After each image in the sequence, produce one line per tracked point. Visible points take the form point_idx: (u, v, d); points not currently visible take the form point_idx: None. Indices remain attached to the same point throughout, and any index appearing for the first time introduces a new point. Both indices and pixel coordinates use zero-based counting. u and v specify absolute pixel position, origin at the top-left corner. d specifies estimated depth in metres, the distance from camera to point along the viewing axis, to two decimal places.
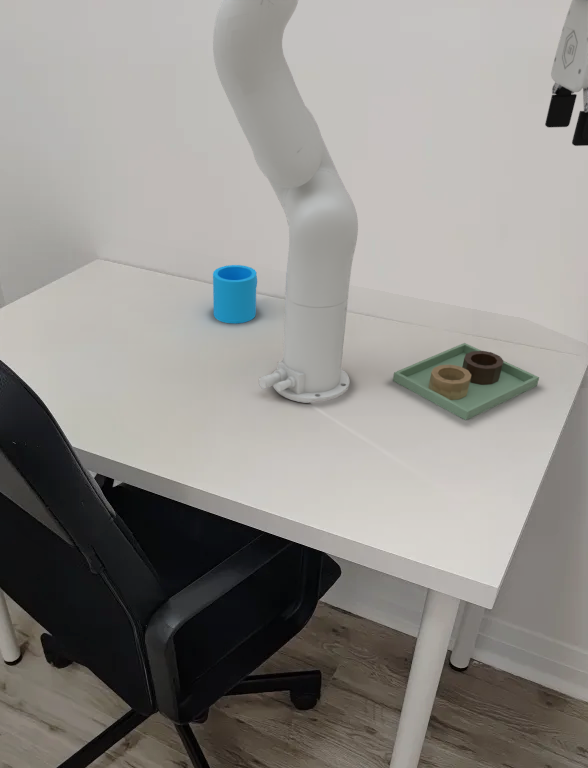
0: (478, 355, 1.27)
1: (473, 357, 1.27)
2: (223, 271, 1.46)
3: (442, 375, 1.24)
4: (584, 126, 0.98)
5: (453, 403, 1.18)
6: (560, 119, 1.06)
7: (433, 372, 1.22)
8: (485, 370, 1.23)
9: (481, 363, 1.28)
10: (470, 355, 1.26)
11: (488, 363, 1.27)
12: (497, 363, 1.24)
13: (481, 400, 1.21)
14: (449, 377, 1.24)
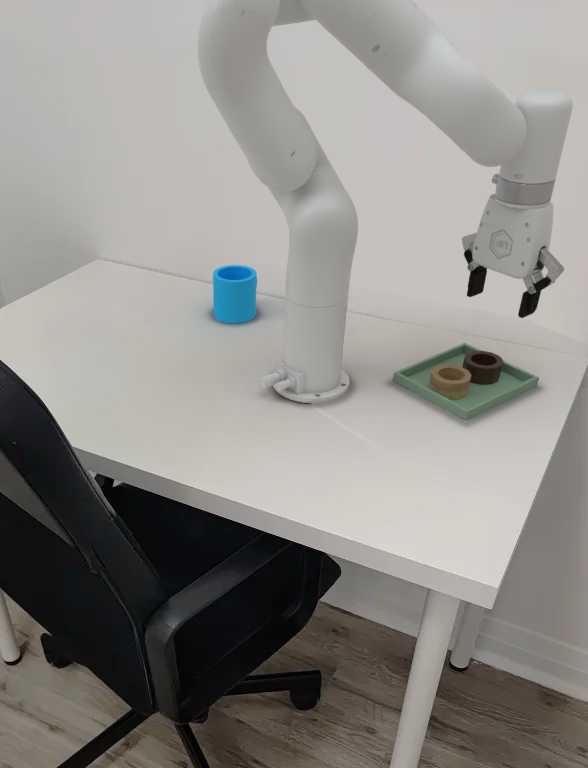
0: (478, 355, 1.27)
1: (473, 357, 1.27)
2: (223, 271, 1.46)
3: (442, 375, 1.24)
4: (529, 303, 1.14)
5: (453, 403, 1.18)
6: (478, 289, 1.22)
7: (433, 372, 1.22)
8: (485, 370, 1.23)
9: (481, 363, 1.28)
10: (470, 355, 1.26)
11: (488, 363, 1.27)
12: (497, 363, 1.24)
13: (481, 400, 1.21)
14: (449, 377, 1.24)
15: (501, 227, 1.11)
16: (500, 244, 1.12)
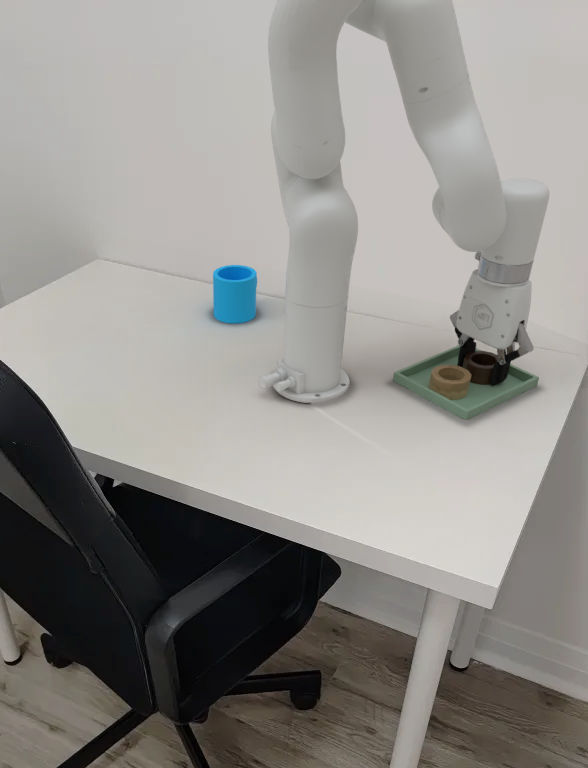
0: (478, 355, 1.27)
1: (473, 357, 1.27)
2: (223, 271, 1.46)
3: (442, 375, 1.24)
4: (499, 372, 1.23)
5: (453, 403, 1.18)
6: None
7: (433, 372, 1.22)
8: (485, 370, 1.23)
9: (481, 363, 1.28)
10: (470, 355, 1.26)
11: (488, 363, 1.27)
12: None
13: (481, 400, 1.21)
14: (449, 377, 1.24)
15: (483, 301, 1.18)
16: (482, 316, 1.19)
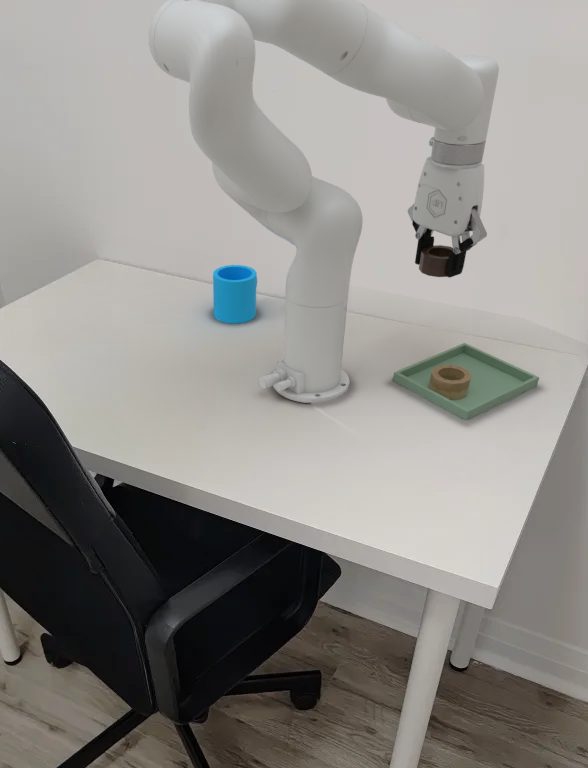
0: (436, 249, 1.27)
1: (430, 251, 1.27)
2: (223, 271, 1.46)
3: (442, 375, 1.24)
4: (455, 263, 1.22)
5: (453, 403, 1.18)
6: None
7: (433, 372, 1.22)
8: (441, 261, 1.23)
9: None
10: (428, 249, 1.26)
11: None
12: None
13: (481, 400, 1.21)
14: (449, 377, 1.24)
15: (436, 187, 1.18)
16: (436, 204, 1.19)
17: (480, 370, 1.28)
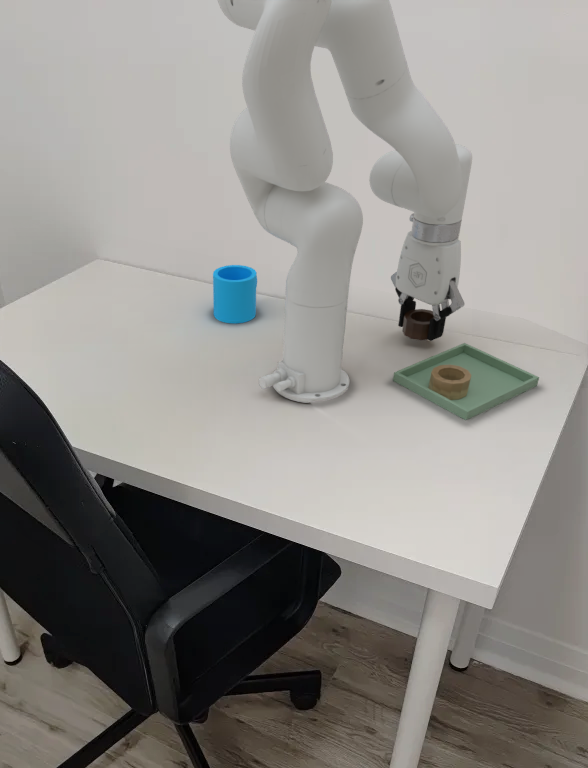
0: (418, 313, 1.36)
1: (413, 315, 1.35)
2: (223, 271, 1.46)
3: (442, 375, 1.24)
4: (435, 328, 1.31)
5: (453, 403, 1.18)
6: None
7: (433, 372, 1.22)
8: (422, 326, 1.32)
9: (421, 321, 1.36)
10: (410, 313, 1.35)
11: (427, 320, 1.36)
12: None
13: (481, 400, 1.21)
14: (449, 377, 1.24)
15: (417, 260, 1.26)
16: (417, 275, 1.27)
17: (480, 370, 1.28)
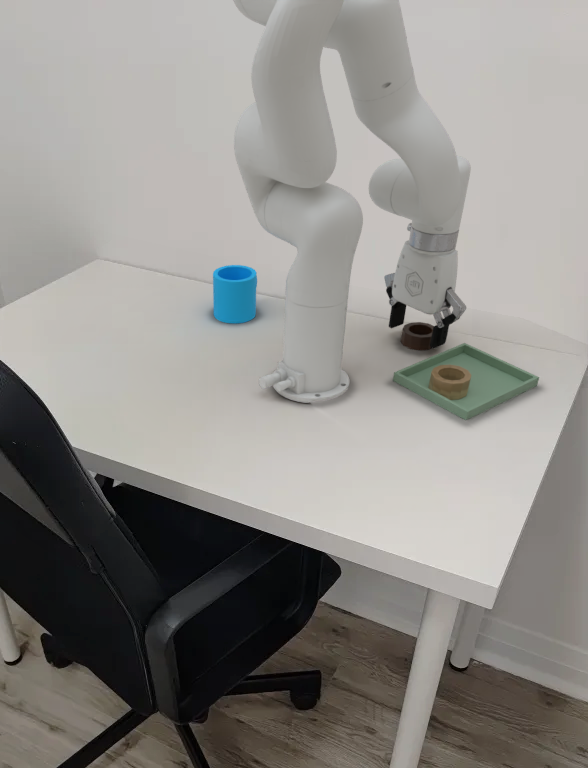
0: (416, 326, 1.37)
1: (411, 327, 1.37)
2: (223, 271, 1.46)
3: (442, 375, 1.24)
4: (438, 335, 1.30)
5: (453, 403, 1.18)
6: (398, 321, 1.38)
7: (433, 372, 1.22)
8: (420, 339, 1.33)
9: (419, 333, 1.38)
10: (408, 326, 1.37)
11: (425, 333, 1.37)
12: None
13: (481, 400, 1.21)
14: (449, 377, 1.24)
15: (414, 269, 1.27)
16: (413, 284, 1.28)
17: (480, 370, 1.28)
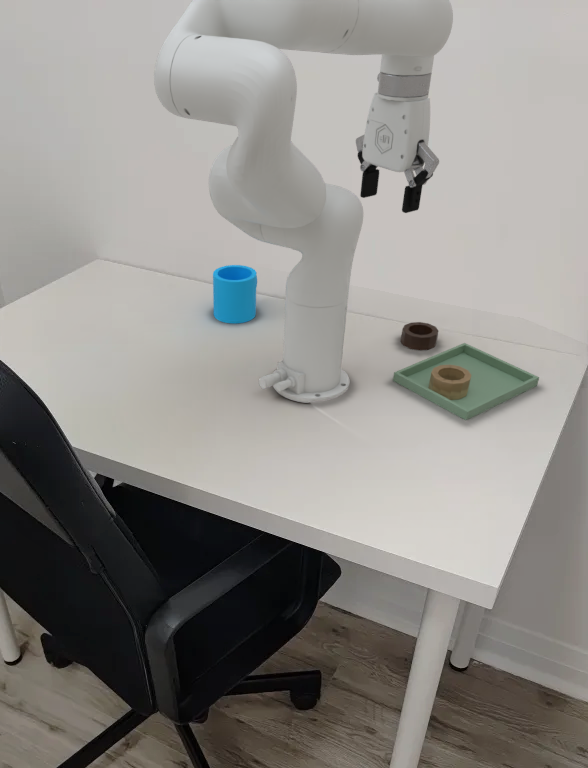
0: (416, 326, 1.37)
1: (411, 327, 1.37)
2: (223, 271, 1.46)
3: (442, 375, 1.24)
4: (411, 197, 1.21)
5: (453, 403, 1.18)
6: (371, 190, 1.28)
7: (433, 372, 1.22)
8: (420, 339, 1.33)
9: (419, 333, 1.38)
10: (408, 326, 1.37)
11: (425, 333, 1.37)
12: (432, 333, 1.34)
13: (481, 400, 1.21)
14: (449, 377, 1.24)
15: (383, 122, 1.17)
16: (383, 139, 1.19)
17: (480, 370, 1.28)
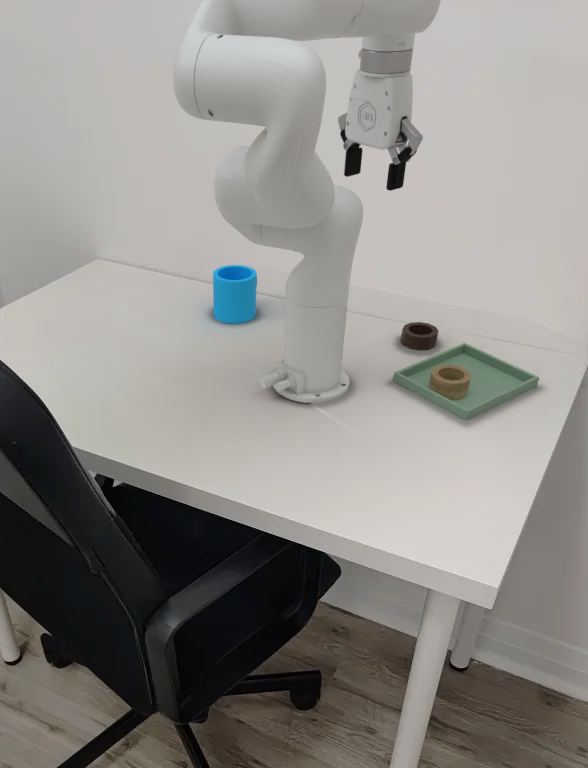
0: (416, 326, 1.37)
1: (411, 327, 1.37)
2: (223, 271, 1.46)
3: (442, 375, 1.24)
4: (395, 175, 1.21)
5: (453, 403, 1.18)
6: (354, 169, 1.28)
7: (433, 372, 1.22)
8: (420, 339, 1.33)
9: (419, 333, 1.38)
10: (408, 326, 1.37)
11: (425, 333, 1.37)
12: (432, 333, 1.34)
13: (481, 400, 1.21)
14: (449, 377, 1.24)
15: (366, 99, 1.17)
16: (366, 116, 1.18)
17: (480, 370, 1.28)
